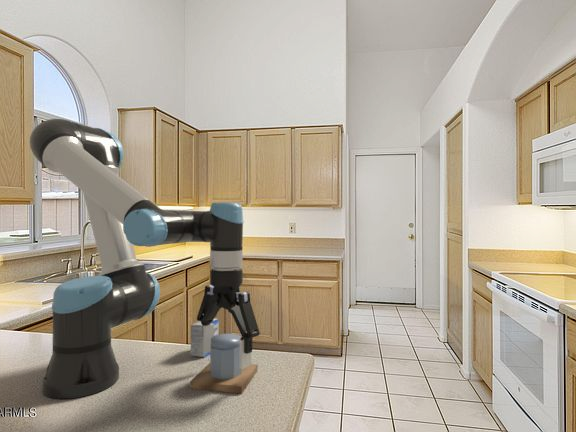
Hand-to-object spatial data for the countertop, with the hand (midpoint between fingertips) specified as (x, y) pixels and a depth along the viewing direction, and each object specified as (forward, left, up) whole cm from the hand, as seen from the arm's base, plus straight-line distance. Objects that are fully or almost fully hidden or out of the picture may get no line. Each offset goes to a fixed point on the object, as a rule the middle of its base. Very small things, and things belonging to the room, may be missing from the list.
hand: (225, 358), depth 86 cm
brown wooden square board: (0, 0, -5) cm, 5 cm away
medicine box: (-12, +15, -5) cm, 20 cm away
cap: (0, 0, -3) cm, 3 cm away
